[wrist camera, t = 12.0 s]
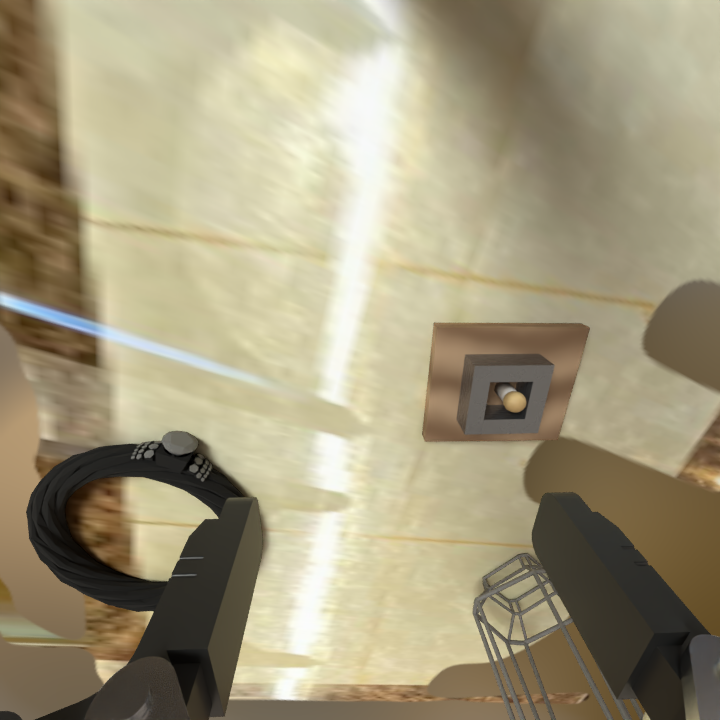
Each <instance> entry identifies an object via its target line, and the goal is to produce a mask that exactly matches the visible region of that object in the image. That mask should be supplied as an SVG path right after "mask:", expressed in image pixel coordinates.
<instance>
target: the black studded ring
mask: <svg viewBox="0 0 720 720" xmlns="http://www.w3.org/2000/svg"><path fill="white" fill-rule="evenodd" d="M153 442H154V441H151V442H143V443H141V444H139V445H136V444H125V445H113V446H103V447H98V448H96V449H93V450H90V451H88V452H85V453H81V454H77V455H73V456H72V457H70V458H68V459H67V460H65V461H63V462H62V463H60V464H58V465H56V466H55V467H54V468H53V469H52V470H51V471H50V472H49V473H48V474H47V475H46V476H45V477H44V478H43V479H42V480H41V481H40V482H39V484H38V485H37V486H36V488H35V489H34V491H33V492H32V494H31V497H30V500H29V504H28V507H27V511H26V513H27V519H28V530H29V539H30V541H31V543H32V545H33V547H34V549H35V550H36V552H37V554H38V556H39V558H40V560H41V561H43V562H44V563H45V564H46V565H47V566H48V567H49V569H50V570H51V571H52V572H53V573H54V574H55V575H56V577H57V578H58V579H59V580H60V581H61V582H63V583H65V584H67V585H69V586H71V587H73V588H75V589H77V590H78V591H80V592H81V593H83V594H85V595H87V596H89V597H92V598H94V599H96V600H99V601H101V602H103V603H105V604H108V605H112V606H115V607H119V608H124V609H128V610H132V611H137V612H140V611H155V609H156V607H157V605H158V602H159V600H160V598H161V596H162V594H163V592H164V590H165V587H166V585H167V583H168V582H158V583H156V582H150V581H147V580H142V579H136V578H130V577H126V576H124V575H122V574H120V573H118V572H116V571H114V570H112V569H110V568H107V567H105V566H103V565H101V564H99V563H97V562H96V561H95V560H94V559H92V558H91V557H90V556H89V555H88V554H87V553H86V552H85V551H84V550H83V549H82V548H81V547H80V546H78V545H77V544H76V543H75V542H74V541H73V539H72V538H71V534H70V531H69V528H68V525H67V522H66V517H65V507H66V503H67V500H68V498H69V497H70V496H71V495H72V494H73V493H74V492H75V491H76V490H77V489H79V488H80V487H82V486H83V485H85V484H86V483H88V482H90V481H93V480H96V479H99V478H108V477H119V476H121V477H145V478H149V479H152V480H156V481H160V482H163V483H167V484H170V485H172V486H175V487H177V488H180V489H183V490H185V491H187V492H188V493H190V494H191V495H193V496H195V497H196V498H198V499H199V500H200V501H202V502H203V503H204V504H206V505H207V506H208V507H210V508H211V509H212V510H213V512H214V513H215V514H216V515H217V516H218V518H219V517H220V514H221V511H222V509H223V506H224V504H225V502H226V500H227V499H228V498H244V496H243V495H242V494H241V493H240V492H239V491H238V490H237V489H236V488H235V487H234V486H233V485H232V484H231V483H230V482H229V481H228V480H227V479H226V478H225V476H224V475H222V474H220V473H219V472H217V471H215V470H214V469H212V464H211V463H210V464H209V461H208V460H207V459H206V458H205V459H204V457H203V456H202V454H197V455H196V457H195V459H194V458H191V456H192V455H193V453H194V451H195V450H196V448H197V447H198V445H199V444H198V441H197V439H196V438H195V437H194V436H193V435H191V434H189V433H187V432H183V431H172V432H168V433H167V434H166V435H164V436H163V438H162V441H155V442H154V443H153ZM203 459H204V460H203ZM207 465H208V466H207Z"/></svg>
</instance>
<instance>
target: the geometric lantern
mask: <svg viewBox="0 0 720 720" xmlns="http://www.w3.org/2000/svg"><path fill="white" fill-rule="evenodd" d="M521 557H525V558H526V560H527V562H528V563H529V565H524V563H523V561H522V559H521ZM529 558H530V559H531V560H532V561H533V562H534V563H536V564H537V565H538V566H537V565H532V564H531V562H530V560H529ZM517 559H519V561H520V563H521V565H522V568H520V569H519V570H517V571H515V572H514V573H512V574H510V575H509V576H507V577H505V578H504V579H502V580H500V581H499V582H497V583H495V584H494V585H492V586H489V585H488V584H487V581H486V579H487V578H488V577H490V576H492V575H493V574H495V573H496V572H498V571H499V570H501V569H503V568H504V567H506V566H507V565H509V564H510V563H512V562H514V561H515V560H517ZM531 568H532V569H531ZM536 568H537V569H536ZM525 569H527V570H529V572H527V573H525V574H523V575H521V576H519V577H517V578H515V579H513V580H511V581H509V582H507V583H505V584H503V585H501V586H499V587H497V588H495V587H496V586H498V585H500V584H501V583H503V582H505V581H506V580H508V579H510V578H511V577H513V576H515V575H516V574H518V573H520V572H522V571H523V570H525ZM542 573H546V572H545V570H544V568H543V566H542V565H541V564H539V563H538V562H537V561H536V560H535V559H533V558H532V557H531V556H530V555H529V554H527V553H525V554H520V555H517V556H516V557H514V558H513V559H511V560H510V561H508V562H506V563H505V564H503V565H502V566H500V567H499V568H497V569H495V570H494V571H492V572H491V573H489V574H488V575H486V576H484V577H483V586H484V589H485V591H484V592H483V593H482V594H481V595H480V596H479V597H477V598H475V600H474V605H473V615H474V618H475V621H476V624H477V626H478V629H479V632H480V635H481V638H482V641H483V643H484V646H485V649H486V652H487V655H488V658H489V660H490V663H491V666H492V669H493V671H494V675H495V678H496V680H497V683H498V686H499V689H500V692H501V695H502V698H503V700H504V703H505V706H506V709H507V712H508V715H509V717H510V720H515V717H514V715H513V712H512V709H511V706H510V703H509V701H508V698H507V695H506V693H505V690H504V687H503V684H502V681H501V679H500V676H499V673H498V670H497V668H496V665H495V662H494V659H493V656H492V654H491V651H490V648H489V645H488V643H487V640H486V637H485V634H484V632H483V629H482V626H481V623H480V621H481V622H482V623H483V624H484V625H485V627H486V630H487V633H488V635H489V638H490V641H491V643H492V646H493V649H494V651H495V654H496V656H497V659H498V662H499V664H500V667H501V669H502V672H503V675H504V677H505V680H506V683H507V686H508V688H509V691H510V693H511V696H512V699H513V701H514V704H515V707H516V709H517V712H518V715H519V717H520V719H521V720H526V719H525V716H524V714H523V711H522V709H521V706H520V704H519V701H518V698H517V696H516V693H515V691H514V688H513V686H512V683H511V681H510V678H509V675H508V673H507V670H506V668H505V665H504V663H503V660H502V657H501V655H500V652H499V650H498V647H497V645H496V642H495V640H494V637H493V634H492V632H494V633H495V634H496V635H497V636H498V637H499V638H500V639H502V640H503V641H504V642H505V643H506V646H507V649H508V651H509V654H510V656H511V659H512V661H513V664H514V667H515V669H516V671H517V674H518V676H519V679H520V682H521V684H522V687H523V689H524V692H525V695H526V697H527V700H528V702H529V705H530V707H531V710H532V712H533V715H534V717H535V720H540V719H539V716H538V714H537V711H536V709H535V706H534V704H533V701H532V699H531V696H530V694H529V691H528V689H527V687H526V684H525V682H524V679H523V677H522V674H521V672H520V669H519V667H518V664H517V662H516V659H515V657H514V654H513V651H512V649H511V646H510V644H512V645H524V646H525V649H526V652H527V654H528V657H529V660H530V663H531V666H532V668H533V671H534V674H535V676H536V679H537V682H538V685H539V687H540V690H541V693H542V696H543V698H544V701H545V704H546V706H547V709H548V712H549V714H550V717H551V720H556V718H555V716H554V713H553V711H552V708H551V705H550V703H549V700H548V697H547V695H546V692H545V690H544V687H543V684H542V681H541V679H540V676H539V673H538V671H537V668H536V666H535V663H534V660H533V657H532V655H531V652H530V649H529V646H528V644H529V643H531V642H533V641H535V640H537V639H539V638H541V637H543V636H545V635H547V634H549V633H551V632H553V631H556V630H558V629H559V628H561V630H562V632H563V634H564V636H565V638H566V640H567V641H568V644H569V645H570V647H571V649H572V651H573V653H574V655H575V657H576V659H577V661H578V663H579V665H580V667H581V669H582V671H583V673H584V675H585V677H586V679H587V681H588V683H589V685H590V687H591V689H592V691H593V692H594V694H595V696H596V698H597V700H598V702H599V704H600V706H601V708H602V710H603V712H604V714H605V716H606V718H607V720H613V717H612V716H611V714H610V712H609V710H608V708H607V706H606V704H605V702H604V700H603V698H602V696H601V694H600V692H599V691H598V689H597V687H596V685H595V683H594V681H593V679H592V677H591V675H590V673H589V671H588V669H587V668H586V666H585V664H584V662H583V660H582V658H581V656H580V654H579V652H578V650H577V648H576V646H575V645H574V643H573V641H572V639H571V637H570V635H569V633H568V631H567V629H566V627H565V626H566V625H568V624H570V623H572V622H573V620H572V618H569V619H567V620H565V621H563V622H562V620H561V618H560V616H559V614H558V612H557V610H556V608H555V606H554V604H553V602H552V601H551V599H550V598H551V597H552V596H554V595H556V594H557V595H558V593H557V591H556V589H555V588H554V586H553V584H552V582H551V580H550V579H548V578H547V577H545V576H544V575H543V574H542ZM538 574H539V575H540V576H541V577H543V578H544V579H545V580H546V581H545V582H543V583H542V582H541V580H540V578H539V576H538ZM532 575H533V576H534V577H535V579H536V581H537V583H538V586H536V587H535V588H533V589H532V590H530V591H528V592H527V593H525V594H523V595H522V596H520V597H518V598H517V599H512V600H508V599H507V598H505V597H504V596H503V595H501V594H500V593H498V592H500V591H502V590H504V589H506V588H508V587H510V586H512V585H514V584H516V583H518V582H520V581H522V580H524V579H526V578H528V577H530V576H532ZM547 583H550V584H551V586H552V588H553V591H554V592H553V593H551V594H549V595H548V593H547V591H546V589H545V587H544V585H546V584H547ZM493 588H495V589H493ZM539 588H540V589H541V591H542V593H543V595H544V597H545V598H543V599H541V600H540V601H538V602H537V603H535V604H533V605H532V606H530V607H528V608H527V609H525V610H524V611H521V609H520V607H519V604H518V601H519V600H521V599H522V598H524V597H526V596H527V595H529V594H531V593H532V592H534V591H536V590H537V589H539ZM490 590H491V591H490ZM495 593H496V594H497V595H498V596H500V597H501V598H503V599H504V600H505V601H507V602H508V603H509V606H510V608H511V610H510V609H509V608H508V607H506V606H505V605H503V604H502V603H501V602H499V601H498V600H496V599H495V598H494V597H492V596H491V595H493V594H495ZM558 596H559V595H558ZM487 597H489V598H491V599H492V600H493V601H495V602H496V603H498V604H499V605H500V606H502V607H503V608H505V609H506V610H507V611H509V612H510V613H512V618H511V624H510V629H509V634H508V639H506V638H505V637H504V636H503V635H501V634H500V633H499V632H498V631H497V630H496V629H495V628H494V627H492V626H491V625H490V624H489V623H488V622H487V619H486V616H485V614H484V611H483V609H482V606H483V604H484V602H485V600H486V599H487ZM481 600H482V601H481ZM546 600H547V602H548V604H549V606H550V608H551V610H552V612H553V614H554V616H555V618H556V620H557V622H558V624H557V625H555V626H553V627H551V628H549V629H547V630H545V631H543V632H541V633H538V634H536V635H534V636H532V637H530V638H528V639H527V636H526V632H525V628H524V624H523V620H522V617H521V615H523V614H525V613H526V612H528V611H530V610H531V609H533V608H534V607H536V606H538V605H539V604H541V603H543V602H544V601H546ZM480 601H481V603H480ZM511 602H515V603H516V605H517V608H518V610H519V612H514V610H513V607H512V604H511ZM477 606H478V609H477ZM479 612H480V614H481V616H480V615H479V614H478V613H479ZM515 615H519V619H520V623H521V627H522V630H523V634H524V638H525V640H524V641H518V640H510V638H511V633H512V628H513V622H514V617H515ZM479 620H480V621H479ZM491 631H492V632H491ZM595 662H596V661H595ZM596 664H597V663H596ZM597 666H598V665H597ZM598 668H599V667H598ZM599 670H600V668H599ZM600 672H601V670H600ZM601 674H602V672H601ZM602 676H603V674H602ZM603 678H604V681H605V683H606V684H607V687H608V689H609V691H610V693H611V695H612V697H613V699H614V701H615V703H616V705H617V708H618V709H619V711H620V713H621V715H622V718H623V720H632V718H631V717H630V714H629V712H628V710H627V708H626V706H625V704H624V702H623V700H622V699H621V700H617V699H616V697H615V695H614V694H613V692H612V690H611V688H610V686H609V685H608V683H607V681H606V679H605V677H604V676H603ZM630 701H631V702H632V705H633V707H634V708H635V710H636V712H637V714H638V716H639V718H640V720H643V716H644V715H643V713H642V711H641V709H640V708H639V706H638V704H637V702H636V700H635V699H630Z"/></svg>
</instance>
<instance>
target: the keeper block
mask: <svg viewBox="0 0 720 720" xmlns="http://www.w3.org/2000/svg"><path fill="white" fill-rule="evenodd" d="M589 330H590V328H589V327H587V326H585V325H583V324H574V323H434V328H433V337H432V347H431V356H430V366H429V375H428V385H427V394H426V404H425V413H424V423H423V432H422V435H423V437H424V440H425V441H507V440H558V437H559V434H560V430H561V427H562V423H563V420H564V416H565V413H566V409H567V406H568V403H569V399H570V396H571V392H572V389H573V385H574V382H575V378H576V375H577V371H578V368H579V364H580V361H581V357H582V354H583V351H584V347H585V344H586V340H587V337H588V333H589ZM465 354H541V355H542V356H543V357H545V358H546V359H547V360H549V361H550V362H551V363H553V364H554V365H555V367H554V371H553V375H552V379H551V383H550V387H549V391H548V395H547V399H546V403H545V407H544V411H543V415H542V419H541V423H540V427H539V431H538V433H521V434H470V435H465V434H464V433H463V431H462V429H461V427H460V425H459V423H458V421H457V419H456V418H457V411H458V403H459V396H460V388H461V381H462V374H463V366H464V359H465ZM516 384H517V382H490V386H489V392H488V398H487V404H486V405H504V407H505V408H506V409H507V410H508V411H510V412H514V413H517V412H520V411H522V410H523V409H524V408H525V406H526V398H525V396H524V395H523V394H522V393H520V392H518V391H516V390H515V389H516Z"/></svg>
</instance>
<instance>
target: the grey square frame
mask: <svg viewBox="0 0 720 720" xmlns="http://www.w3.org/2000/svg"><path fill="white" fill-rule="evenodd" d="M554 367H555V365H554V364H553V363H551V362H550V361H549V360H547V359H546V358H545V357H543V356H542V355H541V354H465V359H464V366H463V374H462V381H461V388H460V396H459V403H458V411H457V418H456V419H457V421H458V423H459V425H460V427H461V429H462V431H463V433H464V434H465V435H470V434H521V433H538V431H539V427H540V423H541V419H542V415H543V411H544V407H545V403H546V399H547V395H548V391H549V387H550V383H551V379H552V375H553V371H554ZM490 382H517V384H516V389H515V390H516V391H518V392H520V393H522V394H523V395H524V396H525V398H526V406H525V408H524V409H523V410H522V411H520V412H517V413H514V412H510V411H508V410H507V409H506V408H505V407H504V405H486V404H487V398H488V392H489V386H490Z"/></svg>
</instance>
